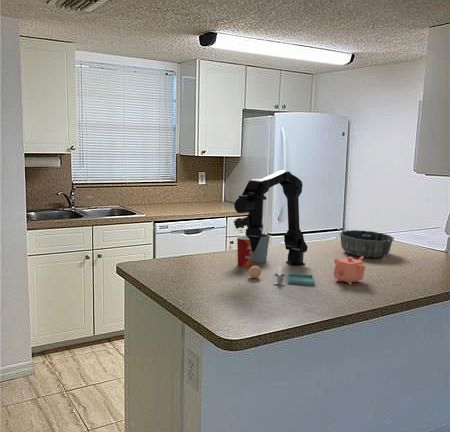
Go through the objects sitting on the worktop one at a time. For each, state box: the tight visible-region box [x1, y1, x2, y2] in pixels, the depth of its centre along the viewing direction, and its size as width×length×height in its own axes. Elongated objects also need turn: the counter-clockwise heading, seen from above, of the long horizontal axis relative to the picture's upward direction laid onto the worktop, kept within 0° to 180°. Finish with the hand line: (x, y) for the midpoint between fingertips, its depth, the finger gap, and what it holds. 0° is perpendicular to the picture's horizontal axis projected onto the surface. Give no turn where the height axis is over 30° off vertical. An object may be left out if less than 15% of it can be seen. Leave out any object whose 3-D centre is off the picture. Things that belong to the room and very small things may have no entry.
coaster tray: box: [287, 272, 316, 286], centre depth 192 cm, size 10×10×2 cm
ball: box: [248, 265, 262, 279], centre depth 194 cm, size 5×5×5 cm
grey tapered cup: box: [251, 233, 271, 264], centre depth 222 cm, size 10×10×12 cm
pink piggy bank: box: [333, 256, 366, 284], centre depth 193 cm, size 14×12×10 cm
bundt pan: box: [339, 229, 395, 258], centre depth 242 cm, size 26×26×10 cm
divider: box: [273, 264, 286, 287], centre depth 192 cm, size 16×4×4 cm, turn 172°
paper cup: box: [236, 232, 252, 268], centre depth 211 cm, size 8×8×14 cm
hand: (253, 249), depth 193 cm, fingers open, 9 cm apart
